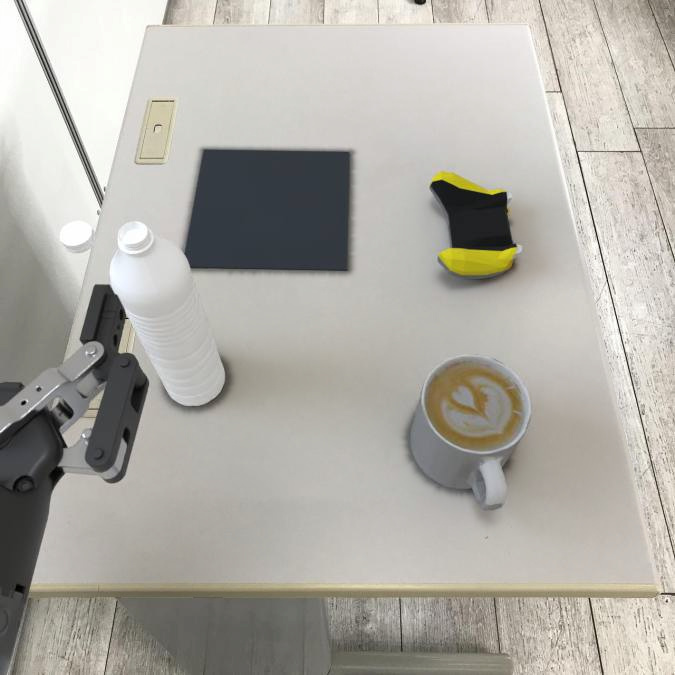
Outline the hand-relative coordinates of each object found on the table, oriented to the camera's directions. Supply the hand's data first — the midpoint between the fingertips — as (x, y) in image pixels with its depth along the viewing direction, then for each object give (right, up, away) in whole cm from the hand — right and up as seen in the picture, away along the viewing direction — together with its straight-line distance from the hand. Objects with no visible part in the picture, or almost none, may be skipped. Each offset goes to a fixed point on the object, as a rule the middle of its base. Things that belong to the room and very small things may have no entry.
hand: (31, 291), depth 35 cm
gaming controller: (+33, +9, +44) cm, 56 cm away
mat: (+8, +14, +47) cm, 50 cm away
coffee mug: (+29, -15, +30) cm, 45 cm away
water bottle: (0, -7, +35) cm, 35 cm away
